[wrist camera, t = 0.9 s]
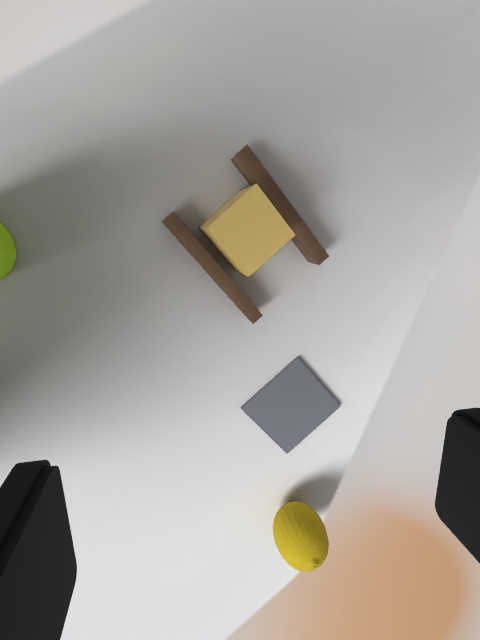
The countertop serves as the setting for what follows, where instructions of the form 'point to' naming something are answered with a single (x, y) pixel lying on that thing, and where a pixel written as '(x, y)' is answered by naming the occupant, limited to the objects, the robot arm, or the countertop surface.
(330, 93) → the countertop surface
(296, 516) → the lemon
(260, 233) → the ochre block
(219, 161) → the countertop surface
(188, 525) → the countertop surface
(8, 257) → the soap dispenser
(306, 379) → the slate coaster
